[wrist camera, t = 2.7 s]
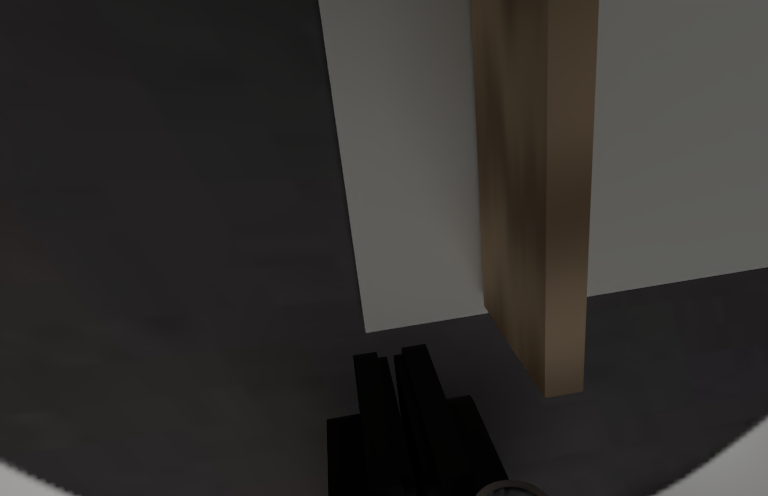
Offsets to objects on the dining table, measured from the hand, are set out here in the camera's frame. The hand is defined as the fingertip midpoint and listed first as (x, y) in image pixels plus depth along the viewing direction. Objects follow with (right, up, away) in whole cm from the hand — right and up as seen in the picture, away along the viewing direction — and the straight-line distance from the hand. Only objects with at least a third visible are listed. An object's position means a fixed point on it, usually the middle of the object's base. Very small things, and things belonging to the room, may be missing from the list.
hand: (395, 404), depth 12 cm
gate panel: (+4, +7, +7) cm, 11 cm away
